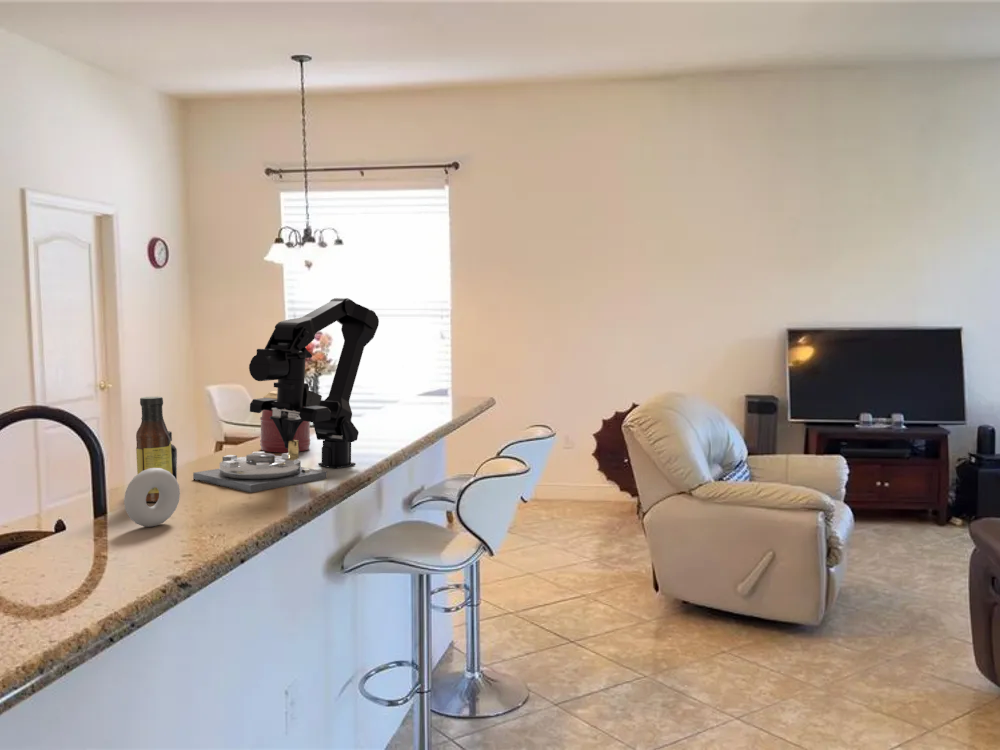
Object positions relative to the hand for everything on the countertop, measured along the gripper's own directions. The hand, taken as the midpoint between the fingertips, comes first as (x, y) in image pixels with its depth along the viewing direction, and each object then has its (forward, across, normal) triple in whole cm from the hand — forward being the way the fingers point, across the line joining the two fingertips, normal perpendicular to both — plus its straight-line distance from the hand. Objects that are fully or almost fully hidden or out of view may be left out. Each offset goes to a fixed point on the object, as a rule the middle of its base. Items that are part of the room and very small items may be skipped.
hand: (288, 448), depth 187 cm
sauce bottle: (+7, +5, +32) cm, 33 cm away
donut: (+6, -11, +46) cm, 47 cm away
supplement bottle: (+7, +11, +26) cm, 29 cm away
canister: (+8, +25, -28) cm, 38 cm away
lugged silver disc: (+5, +2, +6) cm, 8 cm away
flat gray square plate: (+6, +2, +6) cm, 9 cm away
